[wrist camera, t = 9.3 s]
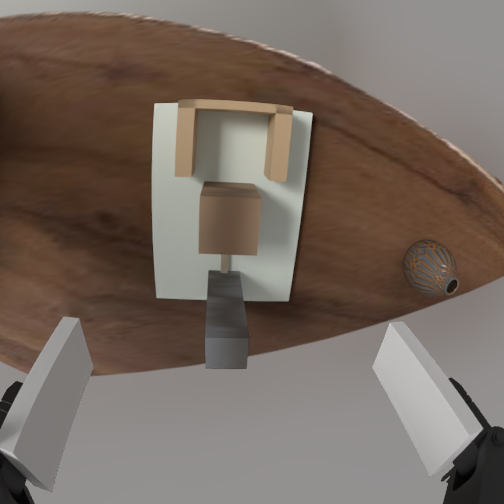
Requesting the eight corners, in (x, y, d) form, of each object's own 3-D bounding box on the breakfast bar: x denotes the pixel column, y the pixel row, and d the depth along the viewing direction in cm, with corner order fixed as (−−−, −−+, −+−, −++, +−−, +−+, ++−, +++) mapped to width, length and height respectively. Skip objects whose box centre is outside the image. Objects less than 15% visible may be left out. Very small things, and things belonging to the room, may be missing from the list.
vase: (389, 276, 38) (422, 311, 30) (405, 229, 36) (445, 256, 28) (424, 280, 39) (458, 312, 31) (440, 237, 37) (479, 263, 29)
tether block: (201, 296, 35) (196, 368, 24) (204, 181, 30) (194, 212, 19) (244, 297, 36) (254, 368, 25) (253, 183, 31) (272, 216, 20)
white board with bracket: (157, 293, 36) (150, 317, 31) (156, 104, 27) (145, 100, 23) (287, 297, 38) (295, 320, 33) (309, 113, 29) (325, 111, 25)
